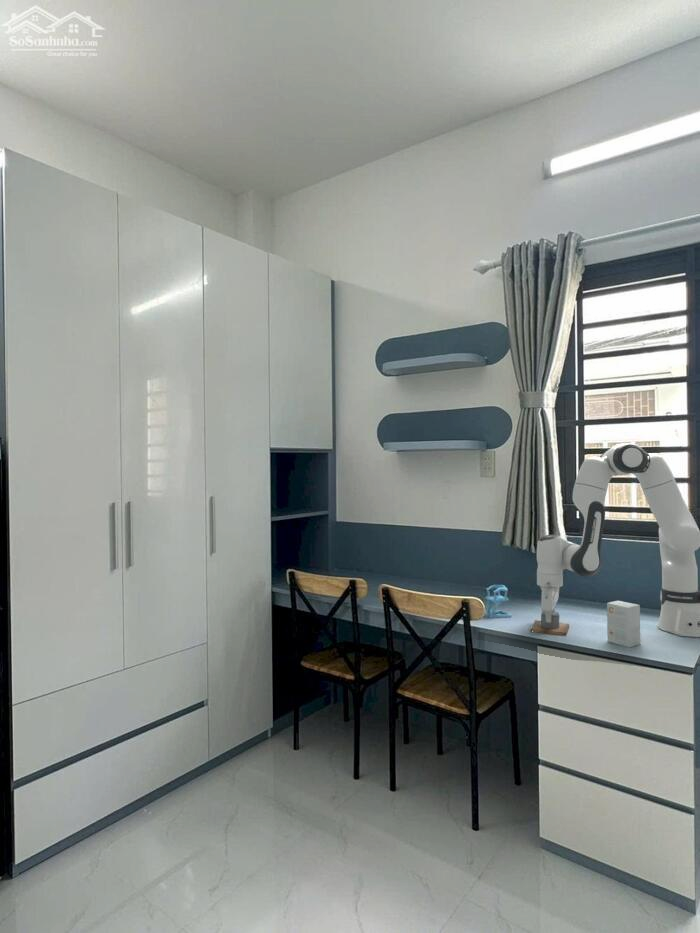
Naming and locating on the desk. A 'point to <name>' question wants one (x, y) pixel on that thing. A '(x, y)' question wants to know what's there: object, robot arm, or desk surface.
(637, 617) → the small box
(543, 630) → the wooden peg board
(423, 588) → the desk surface
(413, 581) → the desk surface
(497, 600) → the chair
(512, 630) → the desk surface
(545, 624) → the knob
